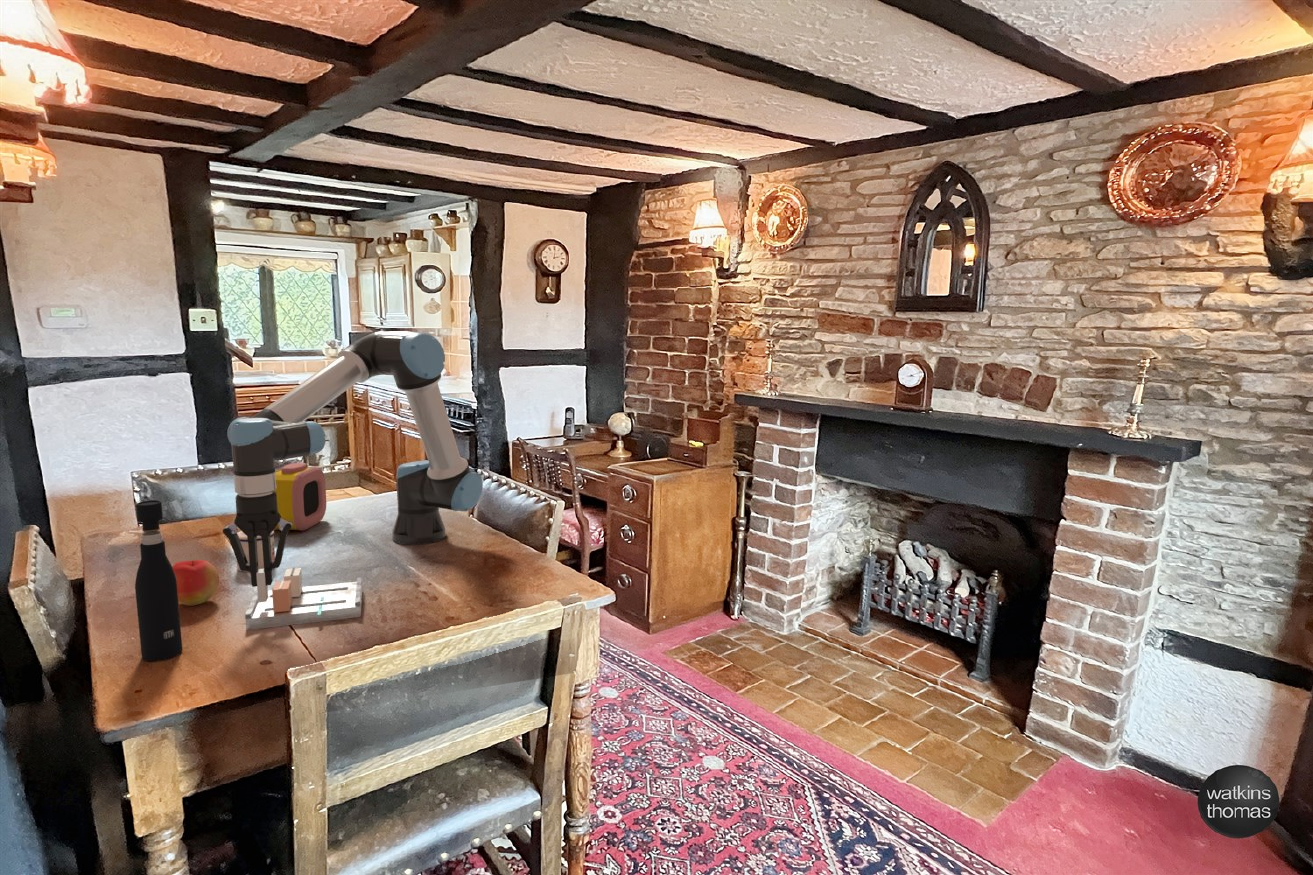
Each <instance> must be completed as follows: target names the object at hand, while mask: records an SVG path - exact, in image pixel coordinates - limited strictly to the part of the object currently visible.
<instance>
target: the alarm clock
mask: <svg viewBox="0 0 1313 875" xmlns="http://www.w3.org/2000/svg"><path fill="white" fill-rule="evenodd" d="M275 476H276V489H275V490H274V491H275V492H276V493H277V506H278V512H279V514H280V515H281V519H283V520H285V521H287V522H288V521H291V522H292V523H293V524H292V527H291V529H290V530H292V531H293V530H294V531H299V532H302V531H307V530H309V529H311V528H312V527H314V526H316V525H317V524H318V523H320V522H321V521H322V520H323V519H324V517H325V514H326V511H327V487H326V486H327V485H326V477H325V473H324V472H323V470H322V469H321V468H320V467H317V466H313V467H308V466H307V463H306V462H294V463H290V464H287V465H284V466H283V467H281V469H278V470H275ZM279 527H280V525H279V524H277V526H276V527H275V528H274V530H273V531H276V530H280V529H279ZM290 530H289V531H290Z"/></svg>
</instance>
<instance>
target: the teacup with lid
mask: <svg viewBox="0 0 1313 875" xmlns="http://www.w3.org/2000/svg"><path fill="white" fill-rule="evenodd" d="M237 534H238V536H239V539H240V542H241V545H242V547H243V550H244V553H245V555H246V558H247V561H248V563H249V548H248V540H247V535H245V534H244V533H243V532H242V531H241V530H240V531H237ZM274 536H275V530H273V531H272V532H271V534H270V541H271V556H272V562H273V561H274V560H275V555H276V552H275V538H274ZM257 552H258V565H259V567H258V569H264V562H263V547H262V539H261V536H257ZM236 568H237V570H238V571H240V572H245V573H250V572H249V571H241V570H240V567H239V565H238V562H237V561H236Z"/></svg>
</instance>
